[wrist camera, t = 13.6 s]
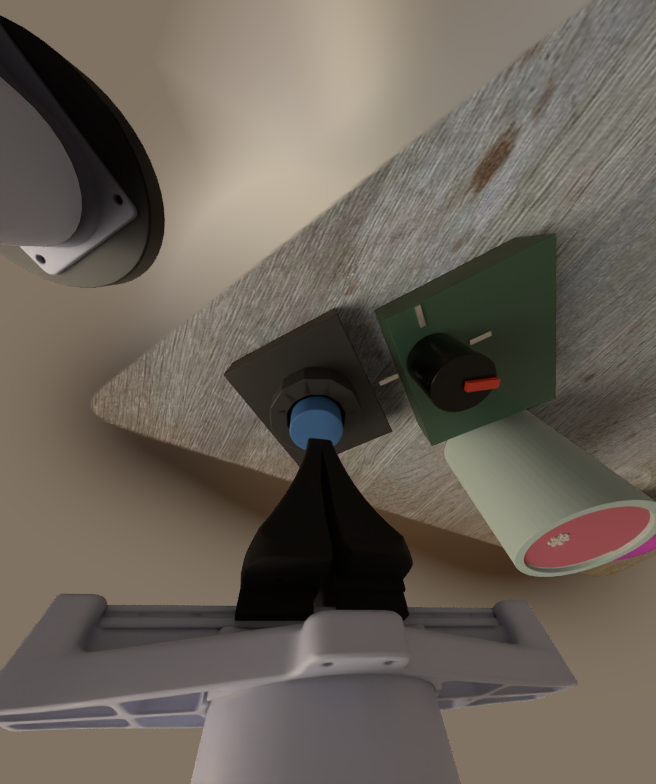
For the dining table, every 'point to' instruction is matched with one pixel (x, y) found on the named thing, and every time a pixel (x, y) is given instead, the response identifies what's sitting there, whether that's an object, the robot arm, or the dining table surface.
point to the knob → (451, 372)
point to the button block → (310, 383)
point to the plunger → (315, 421)
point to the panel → (484, 331)
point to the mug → (549, 497)
